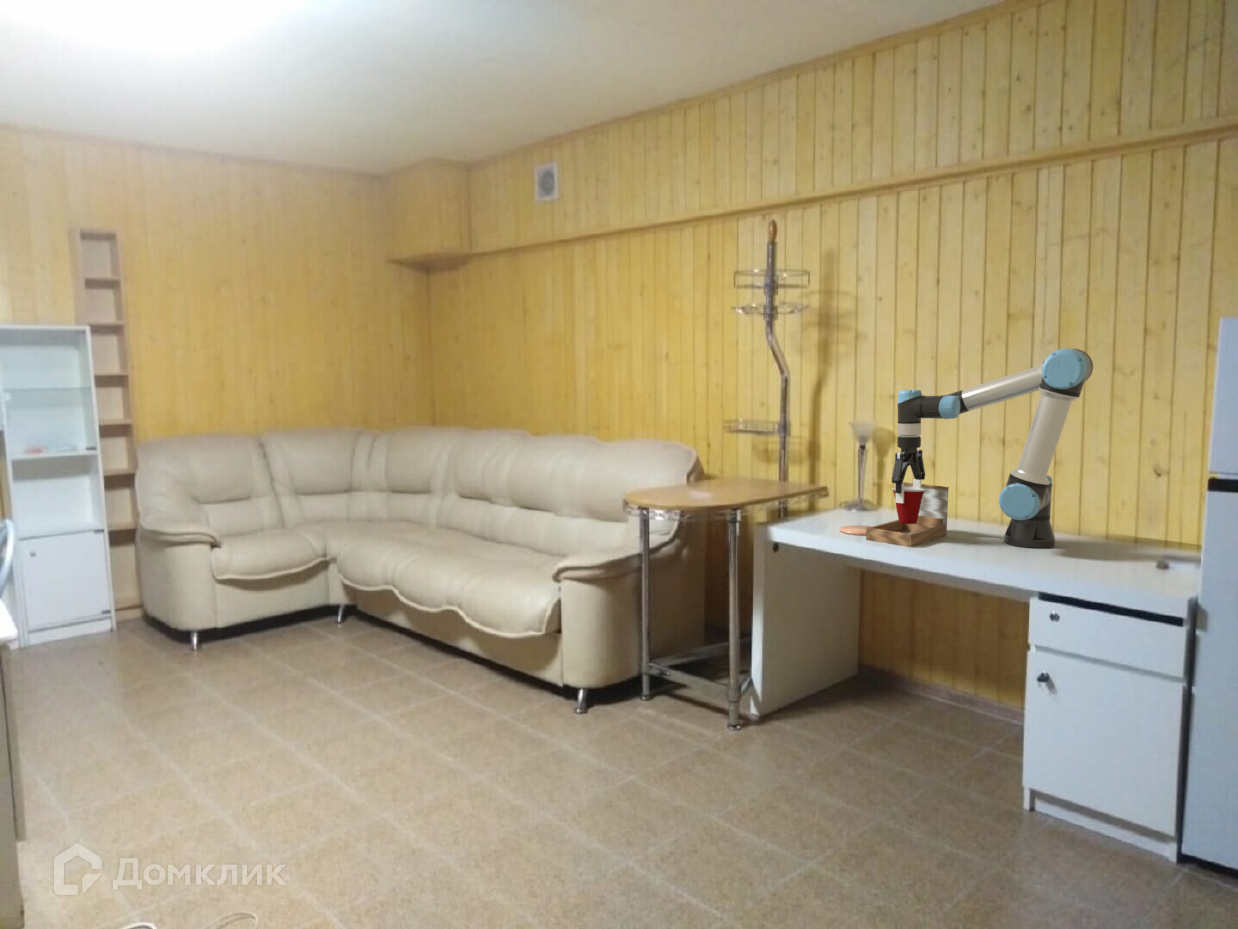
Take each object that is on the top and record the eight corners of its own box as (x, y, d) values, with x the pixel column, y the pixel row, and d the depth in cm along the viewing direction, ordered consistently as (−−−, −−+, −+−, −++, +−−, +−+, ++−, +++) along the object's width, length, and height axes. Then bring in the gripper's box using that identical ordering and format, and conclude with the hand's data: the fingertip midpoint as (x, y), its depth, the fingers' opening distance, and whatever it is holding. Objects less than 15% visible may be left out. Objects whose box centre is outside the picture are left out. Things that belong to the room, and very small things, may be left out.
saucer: (888, 531, 312) (888, 529, 312) (867, 537, 302) (867, 535, 302) (854, 526, 322) (854, 523, 322) (832, 531, 313) (832, 529, 312)
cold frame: (946, 535, 303) (948, 487, 301) (910, 547, 287) (912, 495, 284) (903, 529, 315) (904, 482, 313) (866, 539, 299) (867, 490, 296)
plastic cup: (930, 522, 299) (931, 487, 298) (915, 526, 292) (916, 490, 290) (901, 518, 307) (901, 484, 306) (885, 523, 300) (885, 488, 298)
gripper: (916, 432, 307) (915, 495, 309) (880, 438, 291) (880, 504, 293) (936, 433, 301) (935, 497, 304) (901, 439, 286) (900, 506, 288)
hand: (908, 500), depth 299 cm, fingers closed on plastic cup, 11 cm apart
